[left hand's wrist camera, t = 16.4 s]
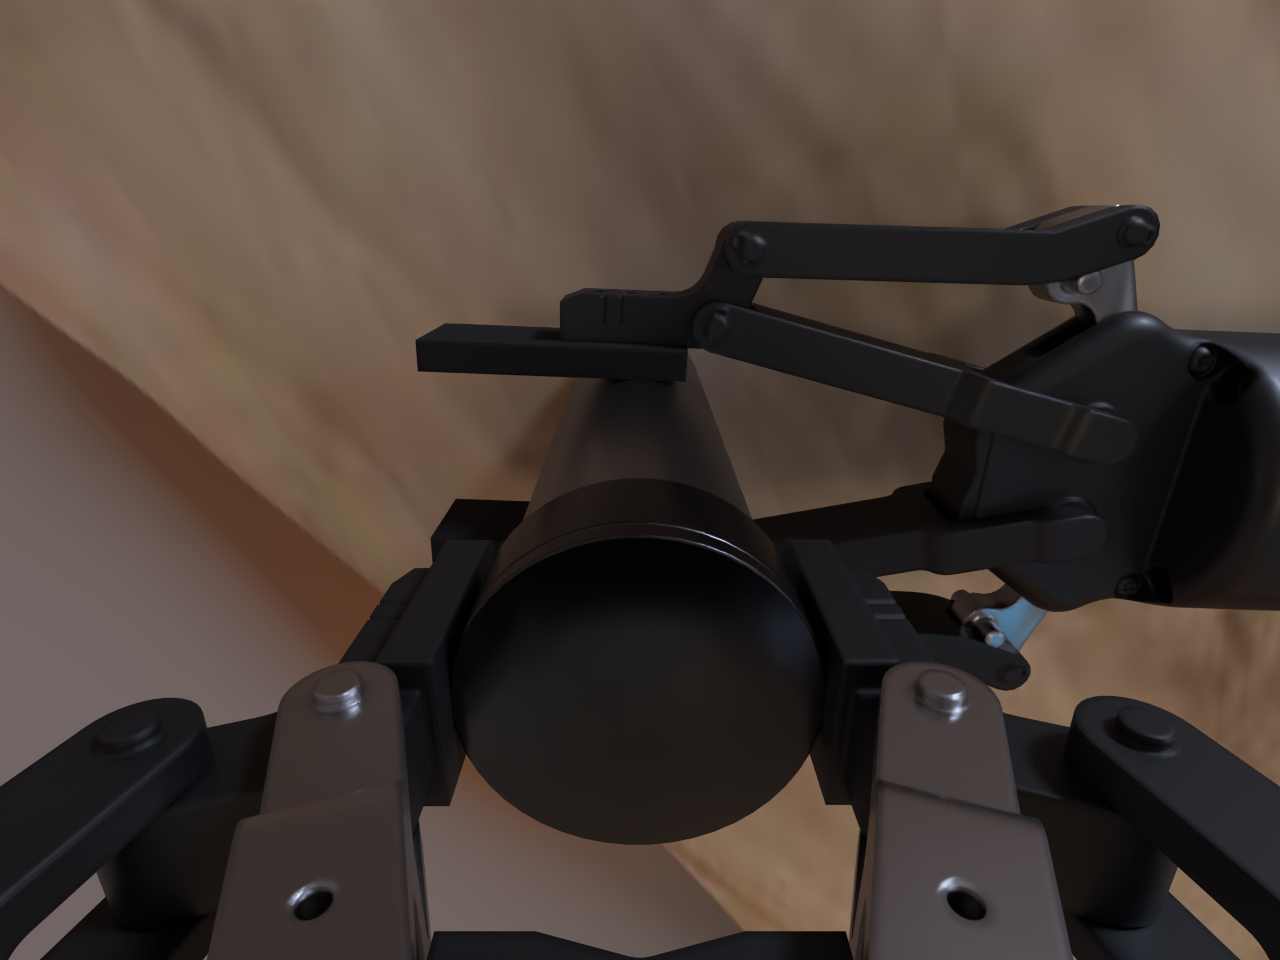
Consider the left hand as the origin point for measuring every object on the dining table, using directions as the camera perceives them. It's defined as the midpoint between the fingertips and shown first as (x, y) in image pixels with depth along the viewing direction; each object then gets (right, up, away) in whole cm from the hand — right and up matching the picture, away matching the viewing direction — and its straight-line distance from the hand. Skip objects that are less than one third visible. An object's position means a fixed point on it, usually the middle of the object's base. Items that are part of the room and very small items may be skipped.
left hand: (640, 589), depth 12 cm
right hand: (-5, +3, +7) cm, 9 cm away
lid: (0, -1, -3) cm, 3 cm away
